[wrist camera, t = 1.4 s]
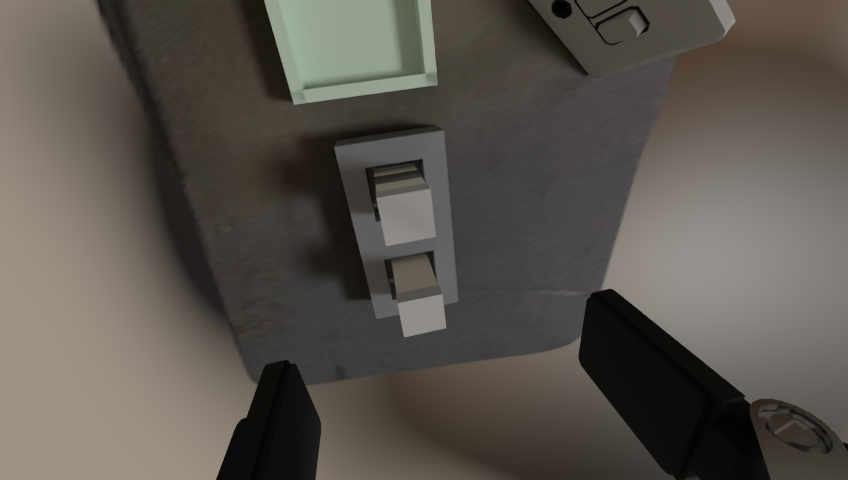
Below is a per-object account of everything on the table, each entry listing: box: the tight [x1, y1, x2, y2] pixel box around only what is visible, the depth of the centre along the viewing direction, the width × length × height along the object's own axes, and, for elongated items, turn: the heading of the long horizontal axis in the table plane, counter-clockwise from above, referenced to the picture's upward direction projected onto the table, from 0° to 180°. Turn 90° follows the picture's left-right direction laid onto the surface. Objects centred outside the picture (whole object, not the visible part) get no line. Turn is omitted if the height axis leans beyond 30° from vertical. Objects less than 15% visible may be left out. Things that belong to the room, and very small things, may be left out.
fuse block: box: [334, 125, 458, 319], centre depth 28 cm, size 16×8×3 cm, turn 7°
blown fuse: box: [373, 161, 436, 246], centre depth 23 cm, size 3×3×8 cm
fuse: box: [391, 252, 446, 337], centre depth 27 cm, size 3×3×8 cm
